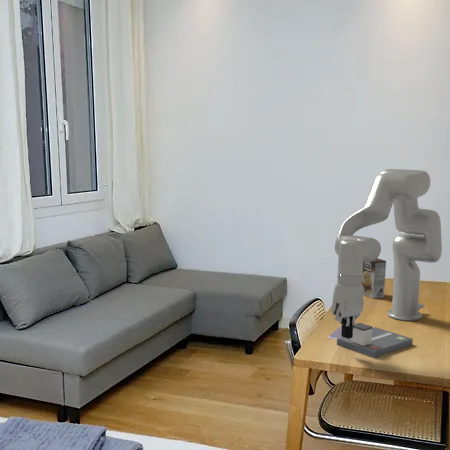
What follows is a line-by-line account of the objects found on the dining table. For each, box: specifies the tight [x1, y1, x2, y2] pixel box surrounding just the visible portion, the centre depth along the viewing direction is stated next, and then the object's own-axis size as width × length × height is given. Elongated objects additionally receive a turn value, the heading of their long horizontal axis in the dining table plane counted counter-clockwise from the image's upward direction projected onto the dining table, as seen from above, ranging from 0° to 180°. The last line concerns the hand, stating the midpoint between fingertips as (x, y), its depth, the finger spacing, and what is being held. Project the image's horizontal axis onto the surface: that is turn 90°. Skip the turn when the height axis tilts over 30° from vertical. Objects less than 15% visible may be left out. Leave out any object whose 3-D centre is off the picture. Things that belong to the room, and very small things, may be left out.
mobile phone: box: [328, 325, 342, 340], centre depth 206 cm, size 8×1×15 cm
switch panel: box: [336, 326, 414, 359], centre depth 195 cm, size 20×15×2 cm
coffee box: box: [362, 257, 387, 299], centre depth 256 cm, size 9×6×16 cm
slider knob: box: [351, 322, 374, 346], centre depth 190 cm, size 4×5×6 cm
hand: (346, 337), depth 185 cm, fingers closed
